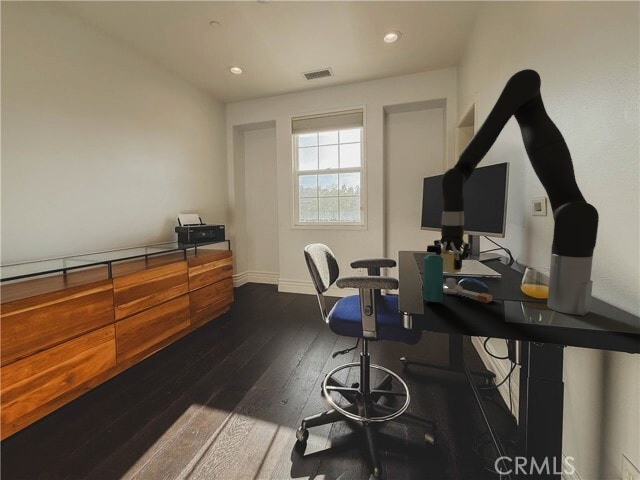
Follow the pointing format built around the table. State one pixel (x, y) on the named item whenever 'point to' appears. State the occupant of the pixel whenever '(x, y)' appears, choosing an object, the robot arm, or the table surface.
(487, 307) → the table surface
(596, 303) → the table surface
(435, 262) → the beverage bottle
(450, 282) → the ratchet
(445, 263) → the beige rounded cube
